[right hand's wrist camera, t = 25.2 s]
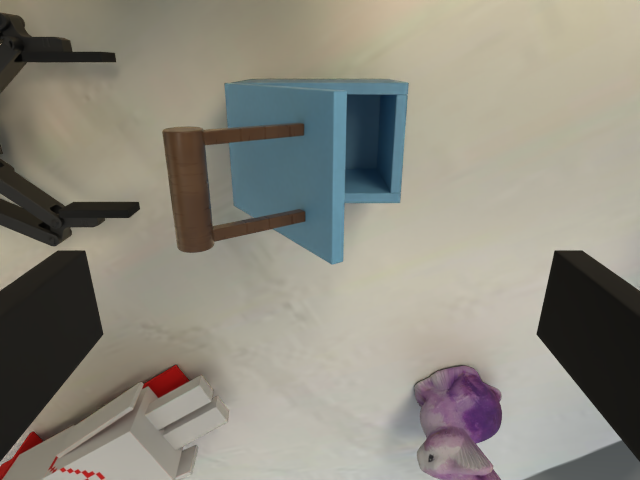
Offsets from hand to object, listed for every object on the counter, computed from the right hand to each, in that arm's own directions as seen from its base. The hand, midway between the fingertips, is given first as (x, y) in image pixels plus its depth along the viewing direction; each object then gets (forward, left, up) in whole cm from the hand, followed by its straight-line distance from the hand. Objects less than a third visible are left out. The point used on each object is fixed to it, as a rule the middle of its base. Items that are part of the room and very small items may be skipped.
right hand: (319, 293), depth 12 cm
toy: (+46, -9, -36) cm, 59 cm away
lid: (+1, -2, -19) cm, 19 cm away
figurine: (+25, +29, -36) cm, 52 cm away
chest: (0, 0, -36) cm, 36 cm away
